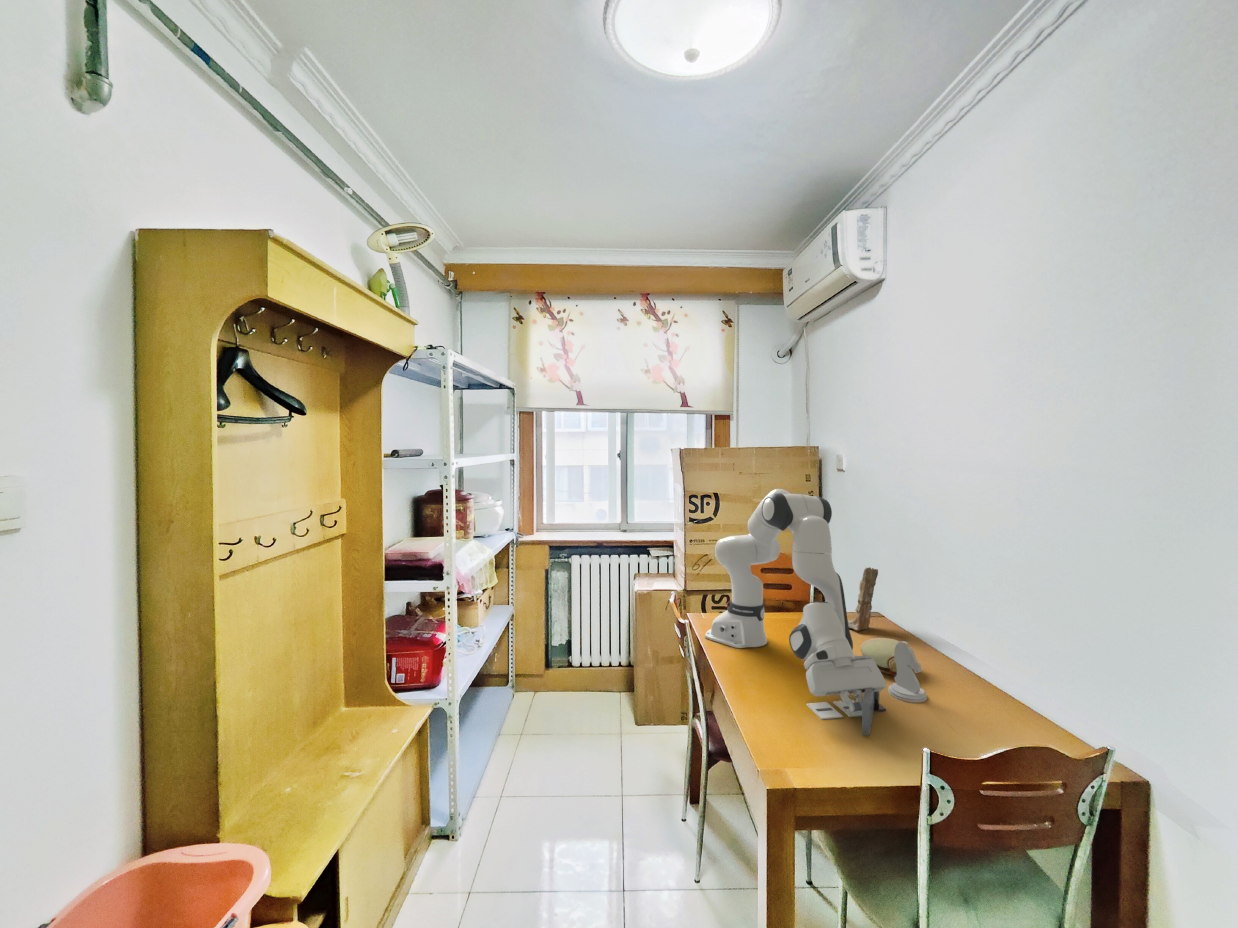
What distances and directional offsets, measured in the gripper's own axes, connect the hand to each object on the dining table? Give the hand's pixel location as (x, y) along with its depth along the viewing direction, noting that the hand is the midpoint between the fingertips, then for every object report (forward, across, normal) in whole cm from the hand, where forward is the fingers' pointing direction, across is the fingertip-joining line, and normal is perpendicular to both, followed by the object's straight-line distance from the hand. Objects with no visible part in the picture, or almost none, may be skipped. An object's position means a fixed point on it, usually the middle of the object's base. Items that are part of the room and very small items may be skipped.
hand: (857, 710), depth 136 cm
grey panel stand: (+1, -5, -4) cm, 7 cm away
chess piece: (-7, -25, -13) cm, 29 cm away
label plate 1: (-3, +4, -9) cm, 11 cm away
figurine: (-45, -45, -53) cm, 83 cm away
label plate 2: (-3, -4, -9) cm, 10 cm away
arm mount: (-3, -10, -9) cm, 14 cm away
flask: (-18, -30, -24) cm, 43 cm away
